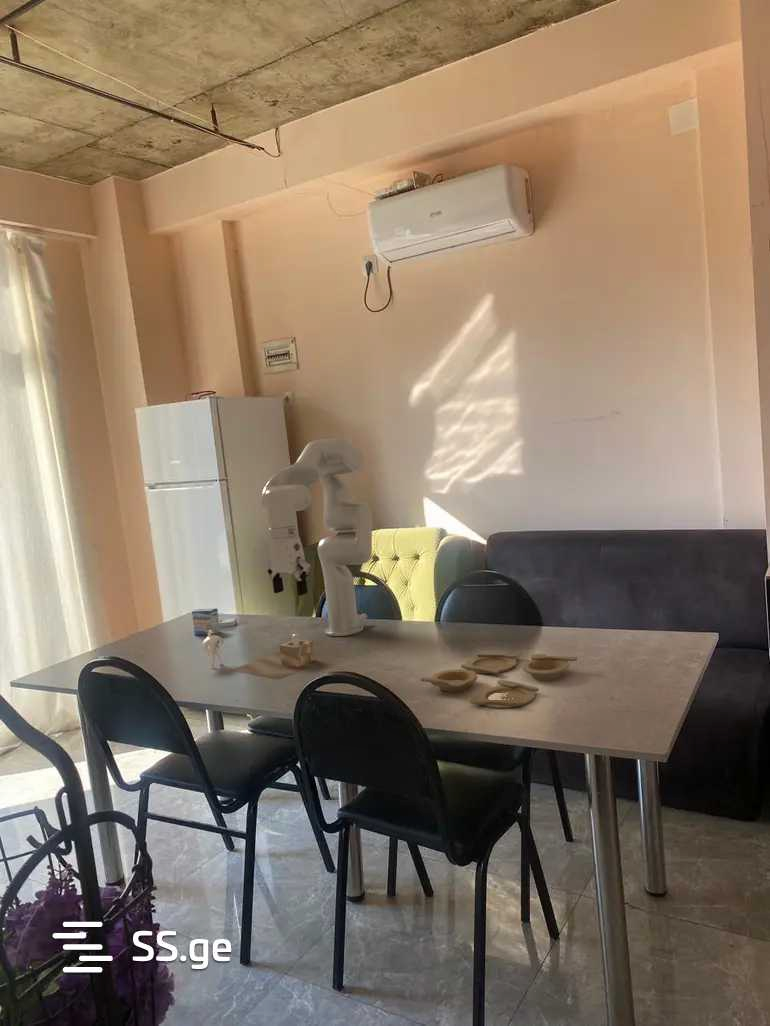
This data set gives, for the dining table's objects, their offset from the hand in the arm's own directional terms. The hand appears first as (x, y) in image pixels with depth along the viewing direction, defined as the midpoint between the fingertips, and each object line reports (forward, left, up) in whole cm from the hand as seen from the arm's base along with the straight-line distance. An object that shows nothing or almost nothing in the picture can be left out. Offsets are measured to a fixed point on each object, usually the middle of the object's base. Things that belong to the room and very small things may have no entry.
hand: (290, 593), depth 211 cm
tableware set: (-12, +58, -22) cm, 63 cm away
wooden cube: (0, 0, -20) cm, 20 cm away
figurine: (+12, -22, -22) cm, 33 cm away
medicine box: (-15, -62, -22) cm, 67 cm away
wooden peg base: (+4, -4, -21) cm, 22 cm away
